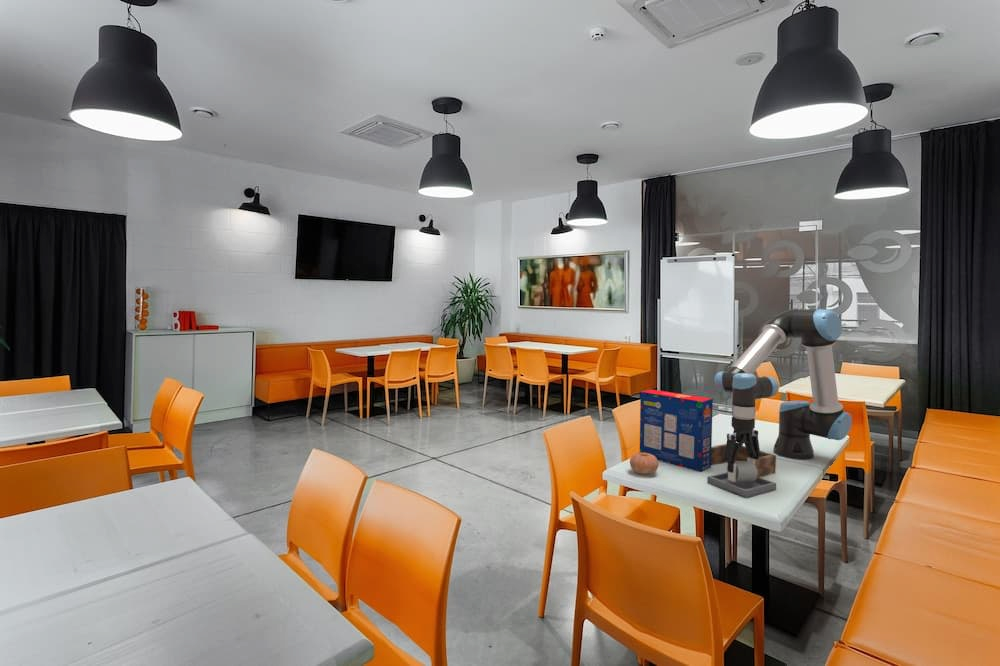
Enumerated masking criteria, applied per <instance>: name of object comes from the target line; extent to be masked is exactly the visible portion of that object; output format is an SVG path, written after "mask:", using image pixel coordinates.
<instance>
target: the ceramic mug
mask: <svg viewBox="0 0 1000 666" xmlns="http://www.w3.org/2000/svg"><path fill="white" fill-rule="evenodd" d="M735 463H736V482H733V481H732V482H733V483H743V482H754V481H756V480H757V478H758V469H757V467H756V465H755V464H754V463H752V462H749V461H735ZM726 466H727V467H726V472H727V474H728V465H726Z"/></svg>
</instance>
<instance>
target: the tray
mask: <svg viewBox="0 0 1000 666" xmlns="http://www.w3.org/2000/svg"><path fill="white" fill-rule="evenodd" d="M706 483H707V484H709V485H710V486H714V487H716V488H719V489H721V490H724V491H726V492H729V493H731V494H734V495H737V496H738V497H742V498H744V499H748V498H751V497H756V496H759V495H763V494H766V493H770V492H774V491H776V490H777V482H774V481H771V480H768V479H765V478H763V477H758V478H757V480H756V481H754V482H743V483H733V482H732V481H730V480H728V474H727V471H726V472H722V473H717V474H712V475H708V476H707V482H706Z"/></svg>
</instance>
